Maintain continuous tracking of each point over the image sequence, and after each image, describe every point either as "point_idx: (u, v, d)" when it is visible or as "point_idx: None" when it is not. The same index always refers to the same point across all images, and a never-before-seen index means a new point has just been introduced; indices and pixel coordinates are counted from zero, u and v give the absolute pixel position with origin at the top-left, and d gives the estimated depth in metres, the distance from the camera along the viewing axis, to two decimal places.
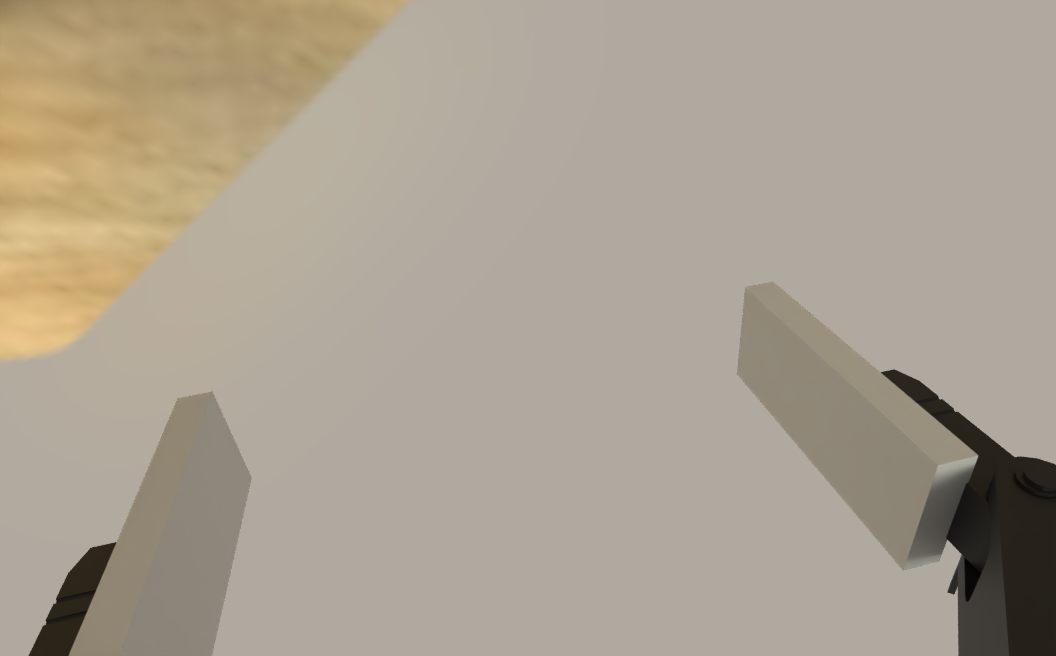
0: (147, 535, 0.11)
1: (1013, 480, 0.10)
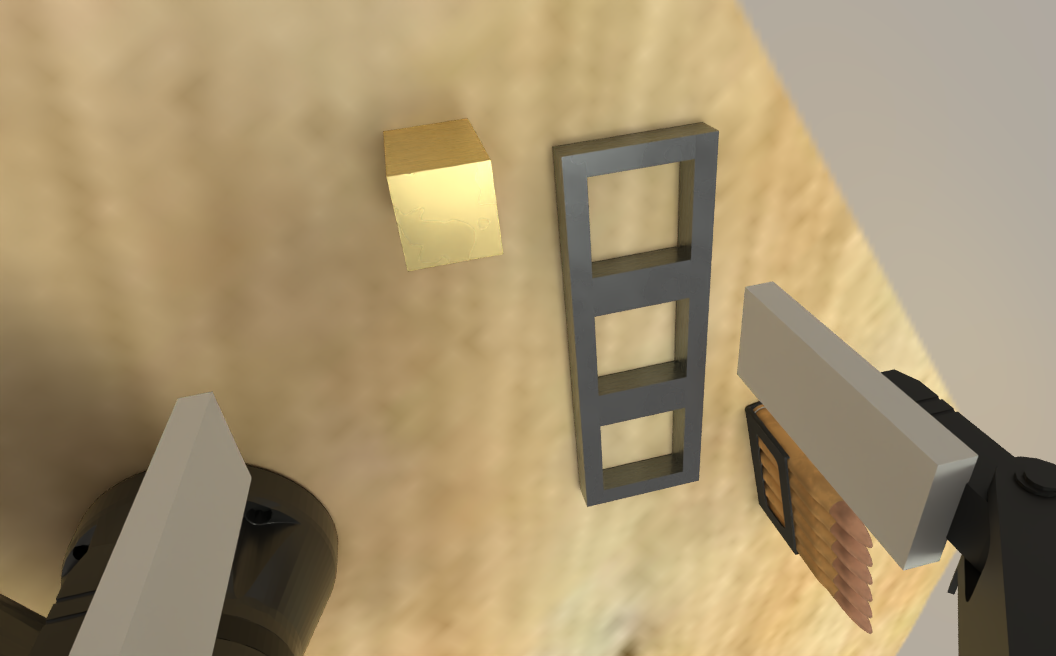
0: (147, 535, 0.11)
1: (1013, 480, 0.10)
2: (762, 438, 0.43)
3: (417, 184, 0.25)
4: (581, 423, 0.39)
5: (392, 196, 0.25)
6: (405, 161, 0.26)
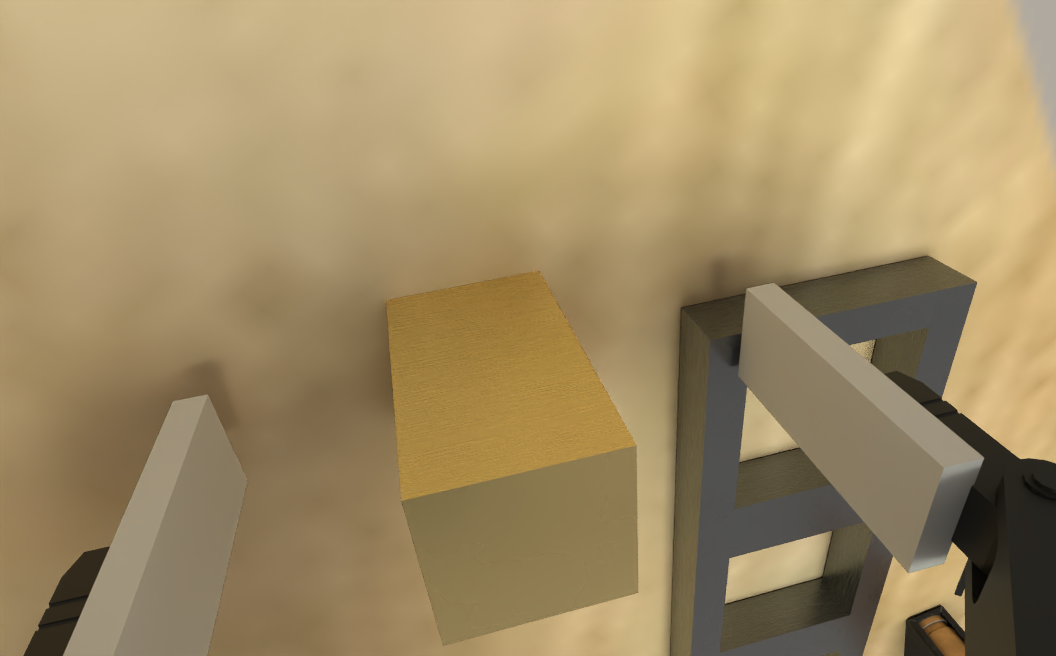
0: (140, 539, 0.11)
1: (1021, 482, 0.10)
2: None
3: (470, 505, 0.11)
4: None
5: (414, 532, 0.11)
6: (438, 425, 0.12)
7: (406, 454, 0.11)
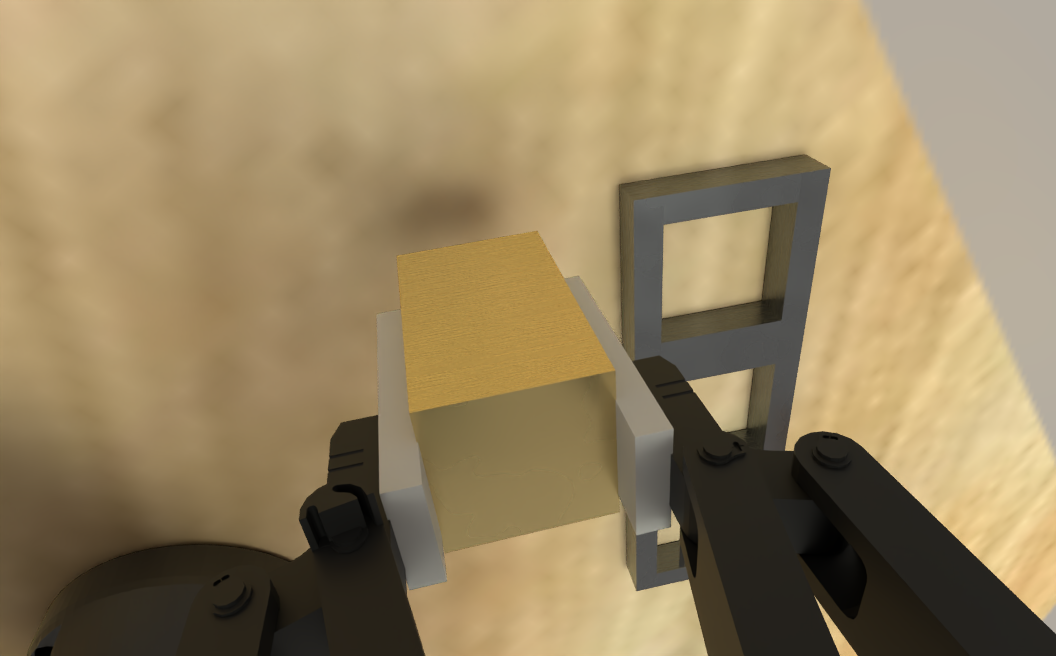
0: (402, 404, 0.13)
1: (698, 457, 0.11)
2: None
3: (469, 420, 0.12)
4: None
5: (420, 443, 0.12)
6: (442, 355, 0.13)
7: (413, 377, 0.13)
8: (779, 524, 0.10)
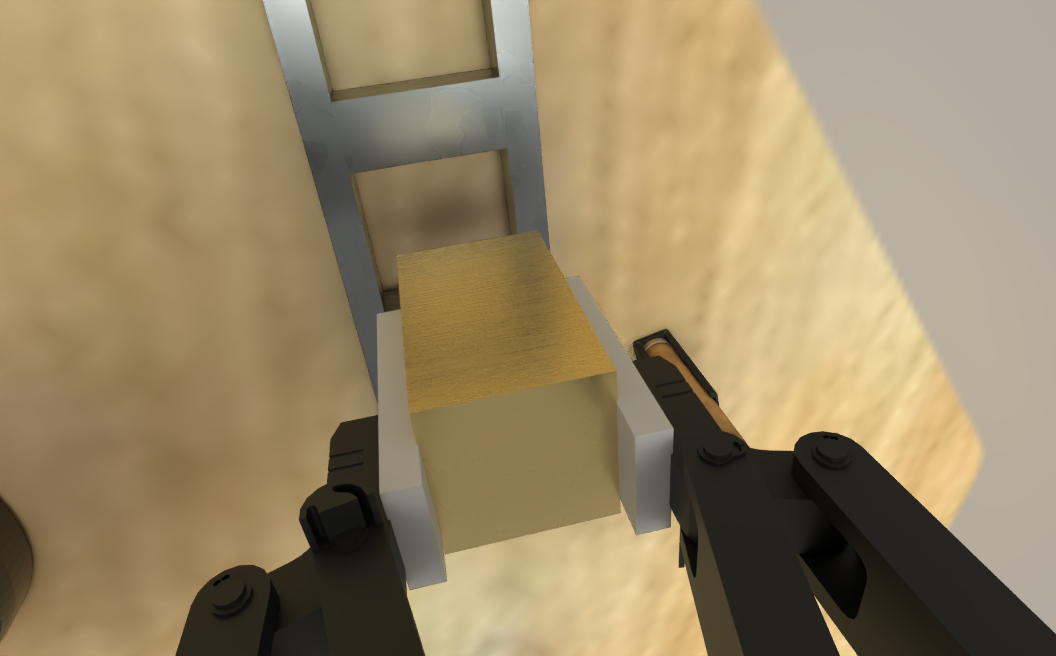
0: (402, 404, 0.13)
1: (698, 457, 0.11)
2: None
3: (470, 420, 0.12)
4: (365, 357, 0.26)
5: (419, 443, 0.12)
6: (442, 355, 0.13)
7: (413, 378, 0.13)
8: (778, 524, 0.10)
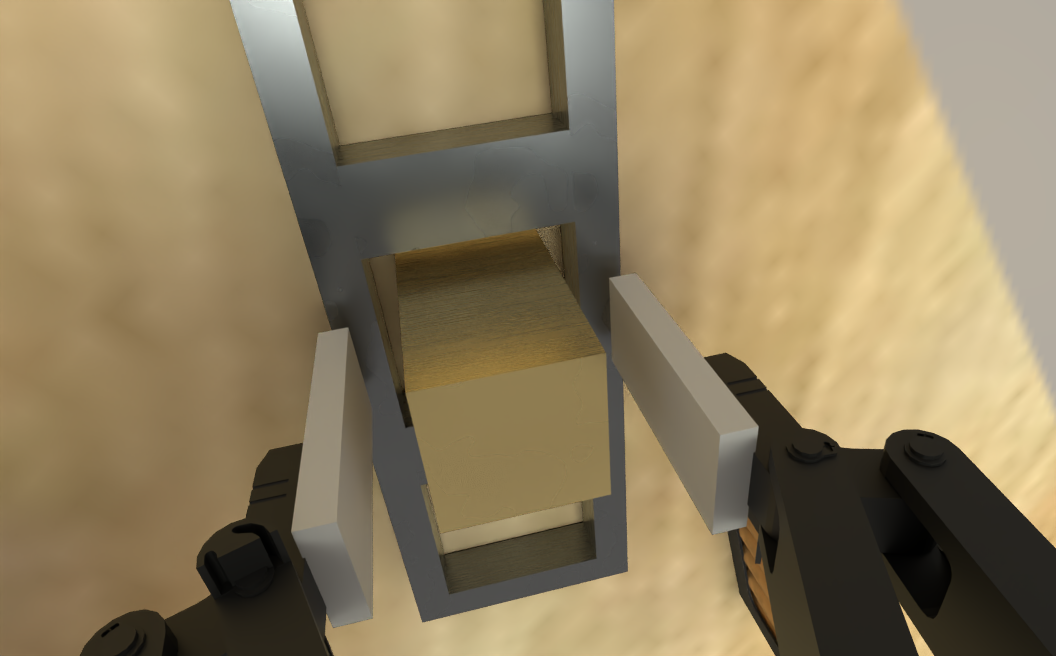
0: (329, 433, 0.13)
1: (786, 453, 0.11)
2: None
3: (464, 401, 0.13)
4: (380, 480, 0.20)
5: (416, 423, 0.13)
6: (438, 339, 0.14)
7: (410, 360, 0.13)
8: (867, 529, 0.10)
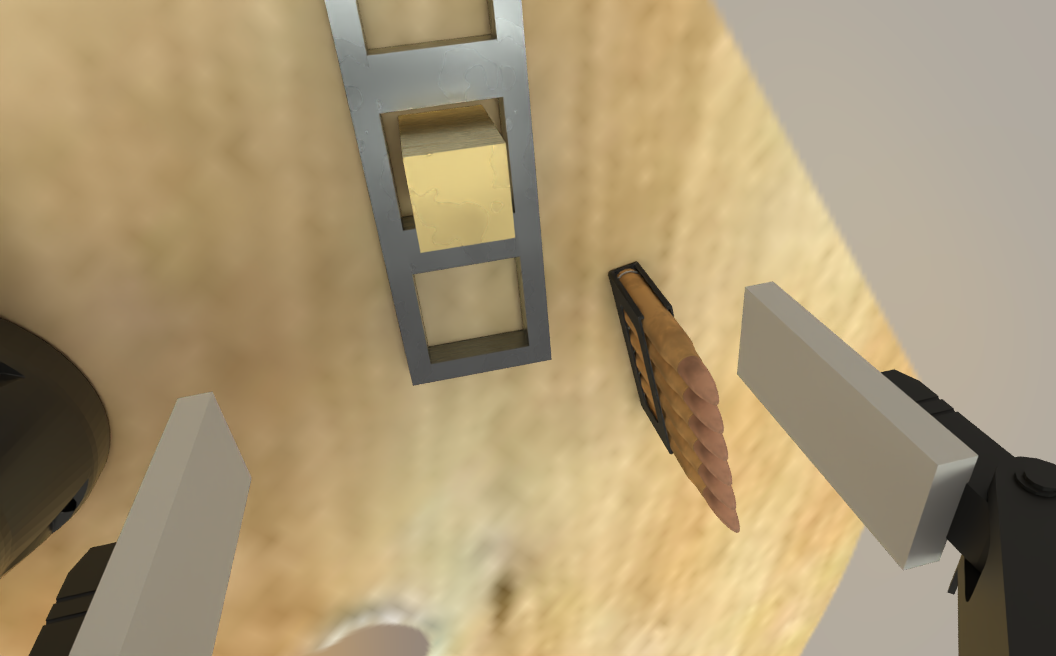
0: (147, 535, 0.11)
1: (1013, 480, 0.10)
2: (623, 305, 0.36)
3: (432, 165, 0.25)
4: (387, 268, 0.32)
5: (407, 177, 0.25)
6: (420, 143, 0.26)
7: (405, 149, 0.25)
8: None
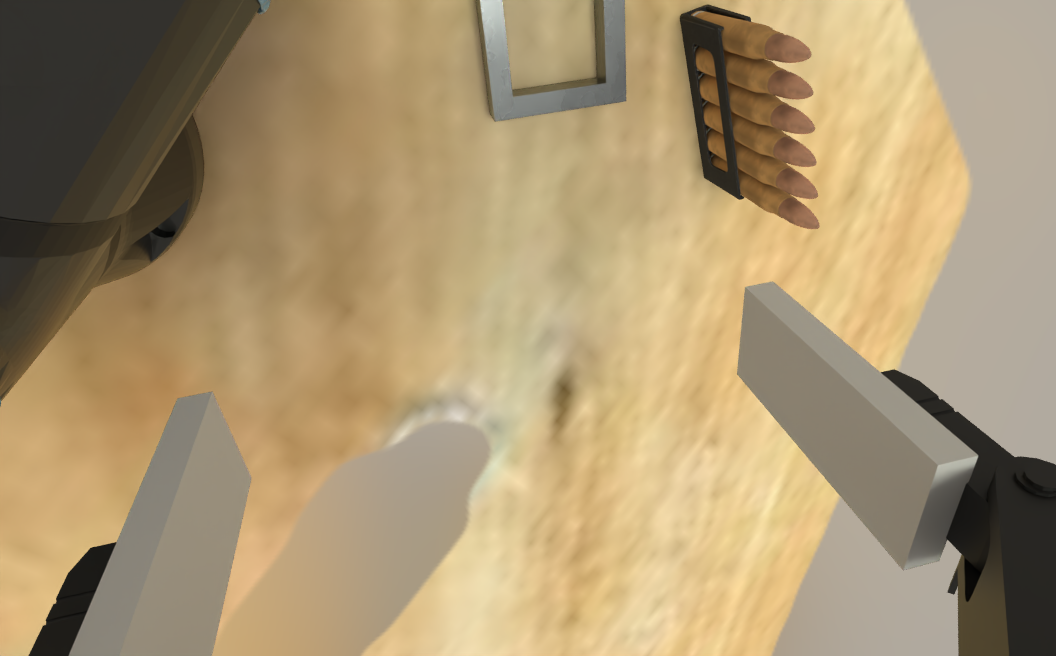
0: (147, 535, 0.11)
1: (1013, 480, 0.10)
2: (697, 39, 0.37)
3: None
4: None
5: None
6: None
7: None
8: None
